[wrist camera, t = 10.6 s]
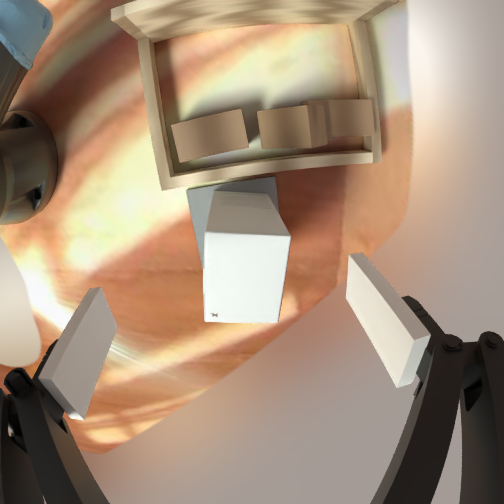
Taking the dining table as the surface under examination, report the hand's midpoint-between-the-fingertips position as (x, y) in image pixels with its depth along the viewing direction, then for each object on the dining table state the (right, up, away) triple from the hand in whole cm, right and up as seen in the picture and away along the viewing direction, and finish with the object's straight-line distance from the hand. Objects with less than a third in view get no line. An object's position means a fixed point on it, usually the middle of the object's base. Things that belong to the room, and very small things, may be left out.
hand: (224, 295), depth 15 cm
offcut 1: (-3, +15, +15) cm, 21 cm away
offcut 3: (+10, +17, +15) cm, 25 cm away
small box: (0, +5, +19) cm, 20 cm away
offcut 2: (+6, +15, +13) cm, 21 cm away
